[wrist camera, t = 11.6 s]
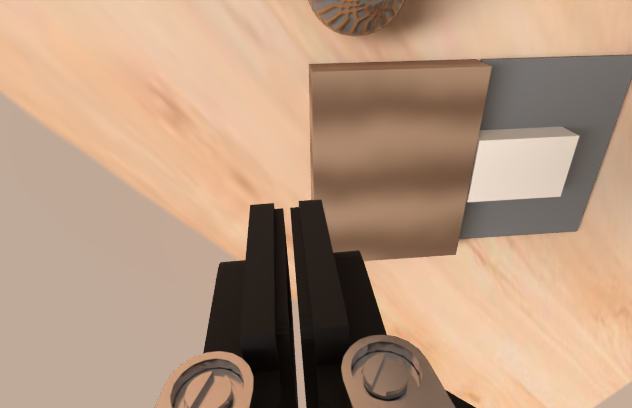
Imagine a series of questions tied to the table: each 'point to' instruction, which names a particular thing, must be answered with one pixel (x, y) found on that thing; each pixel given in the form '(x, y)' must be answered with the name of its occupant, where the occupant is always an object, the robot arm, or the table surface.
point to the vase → (355, 14)
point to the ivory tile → (521, 163)
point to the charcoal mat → (551, 111)
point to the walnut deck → (395, 152)
